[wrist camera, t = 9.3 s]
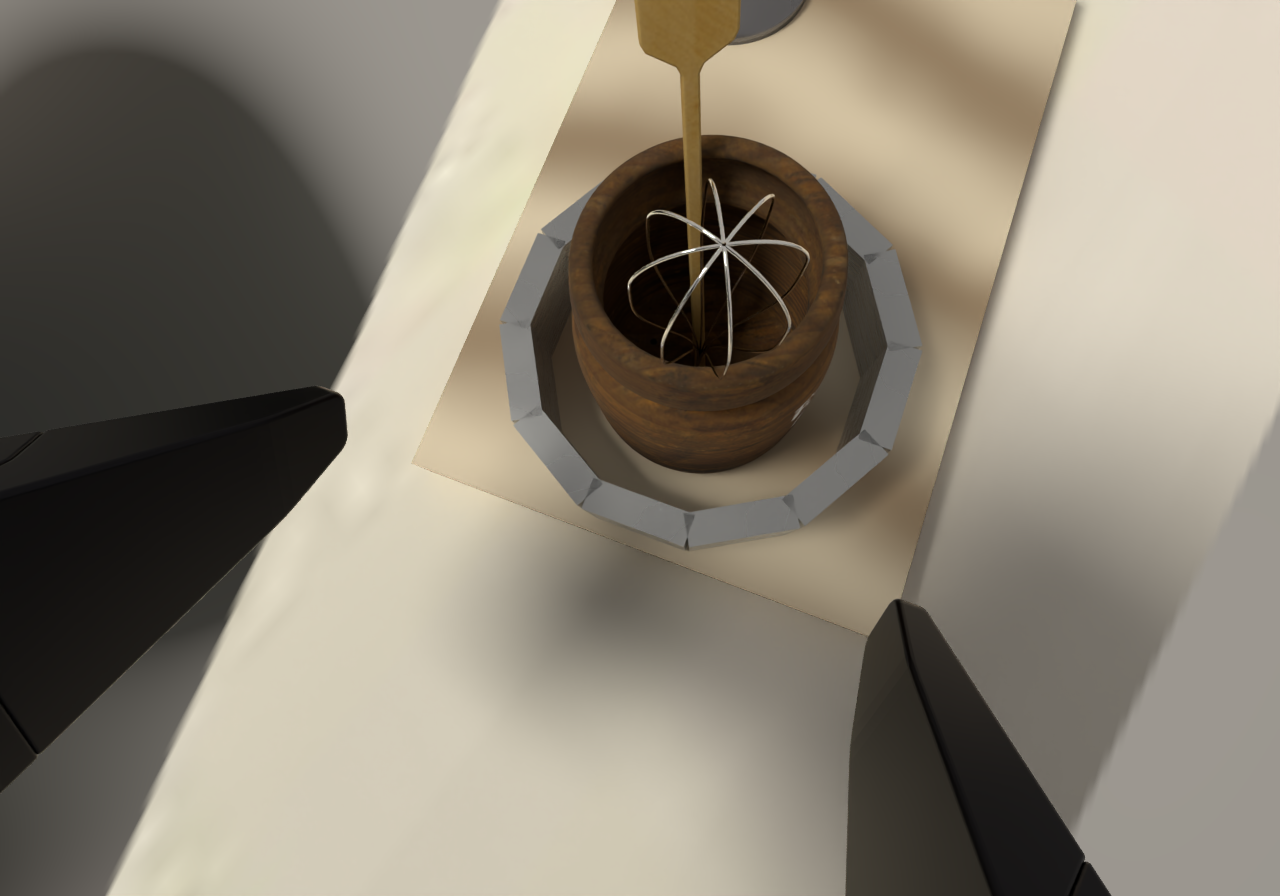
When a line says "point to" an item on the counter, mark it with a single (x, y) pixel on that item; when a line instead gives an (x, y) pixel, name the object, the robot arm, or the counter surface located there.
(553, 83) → the counter surface
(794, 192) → the utensil holder
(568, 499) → the wooden stand with ring
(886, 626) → the robot arm
